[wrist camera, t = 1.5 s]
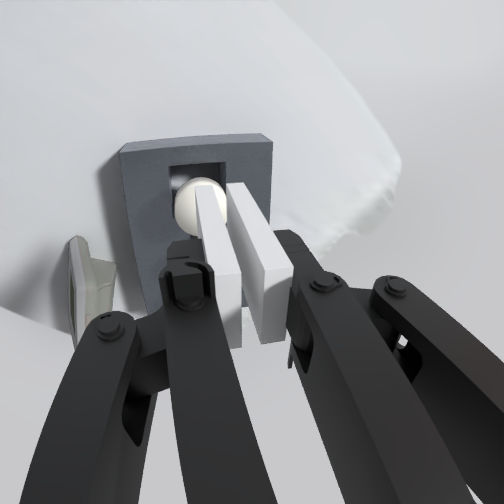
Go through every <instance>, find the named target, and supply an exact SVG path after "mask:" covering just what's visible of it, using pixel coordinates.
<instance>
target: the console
mask: <svg viewBox="0 0 504 504" xmlns="http://www.w3.org/2000/svg"><path fill="white" fill-rule="evenodd" d="M272 151H273V142H272V141H271V140H270V139H268V138H267V137H265V136H264V135H263V134H228V135H208V136H193V137H180V138H169V139H158V140H149V141H140V142H132V143H126V144H125V146H124V147H123V148H122V150H121V151H120V152H119V157H120V166H121V174H122V182H123V189H124V196H125V203H126V209H127V215H128V221H129V227H130V233H131V238H132V244H133V249H134V254H135V259H136V264H137V269H138V274H139V278H140V283H141V287H142V292H143V296H144V300H145V304H146V308H147V312H148V315H150V314H153V313H154V312H156V311H157V310H158V309H159V308H160V307H161V306H162V305H163V301H162V296H161V290H160V285H159V280H158V277H159V274H160V271H161V270H162V269H163V268H164V267H165V266H167V249H168V247H169V246H170V244H171V243H172V242H173V241H180V240H190V239H191V237H192V235H191V234H188V233H187V232H185V231H184V230H182V229H181V227H180V226H179V225H178V223H177V221H176V218H175V201H174V202H173V196H172V185H171V172H170V166H174V165H185V164H198V163H212V162H220V186H221V187H222V189H223V190H224V193H225V195H226V184H227V183H243V182H244V184H245V186H246V187H247V189H248V191H249V192H250V194H251V196H252V197H253V199H254V201H255V202H256V204H257V206H258V207H259V209H260V211H261V212H262V214H263V216H264V217H265V219H266V221H267V222H268V224H269V221H270V199H271V176H272ZM225 225H226V228H227V222H226V223H225ZM241 307H249V306H248V303H247V300H246V297H245V294H244V291H243V288H242V285H241Z"/></svg>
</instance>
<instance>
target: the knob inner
mask: <svg viewBox="0 0 504 504" xmlns="http://www.w3.org/2000/svg"><path fill="white" fill-rule="evenodd" d="M200 185H213V188H214V191H215V194H216V198H217V201H218V204H219V207H220V210H221V213H222V216H223V219H224V222H225V223H226V222H227V208H226V195H225V193H224V190H223V189H222V187H221V186H220V185H219V184H218V183H217V182H216V181H214V180H212V179H209V178H204V177H196V178H193V179H191V180H188V181H187V182H185V183H184V184H183V185H182V186H181V187H180V188H179V190H178V191H177V193H176V197H175V218H176V221H177V223H178V225H179V226H180V227H181V229H182V230H184V231H185V232H187V233H188V234H191V235H194V236H198V233H197V218H196V203H195V186H200Z"/></svg>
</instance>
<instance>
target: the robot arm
mask: <svg viewBox="0 0 504 504" xmlns="http://www.w3.org/2000/svg"><path fill="white" fill-rule="evenodd" d="M195 203H196V218H197V233H198V239H190V240H180V241H173V242H172V243H171V244H170V246H169V247H168V249H167V266H165V267H164V268H163V269H162V270H161V271H160V274H159V277H158V280H159V285H160V290H161V296H162V301H163V305H162V306H161V307H160V308H159V309H158V310H157V311H156V312H154V313H153V314H150V315H148V316H146V317H143V318H140V319H137V320H134V318H133V317H132V316H130V315H129V314H127V313H125V312H120V311H111V312H106V313H103V314H100V315H98V316H97V317H96V318H94V319H93V320H91V322H90V323H89V324H88V326H87V327H86V329H85V331H84V333H83V335H82V337H81V339H80V341H79V343H78V345H77V348H76V350H75V352H74V354H73V356H72V358H71V361H70V363H69V365H68V367H67V370H66V372H65V374H64V376H63V379H62V381H61V383H60V386H59V388H58V391H57V393H56V395H55V398H54V400H53V403H52V405H51V408H50V410H49V413H48V416H47V418H46V421H45V424H44V426H43V429H42V432H41V435H40V438H39V441H38V443H37V446H36V449H35V452H34V455H33V458H32V461H31V464H30V468H29V471H28V474H27V478H26V481H25V485H24V488H23V492H22V495H21V499H20V503H19V504H138V501H139V494H140V488H141V481H142V475H143V469H144V463H145V457H146V452H147V446H148V441H149V436H150V430H151V425H152V420H153V415H154V410H155V405H156V400H157V395H158V392H160V391H163V390H165V389H168V388H170V393H171V402H172V410H173V418H174V426H175V433H176V439H177V446H178V453H179V459H180V465H181V470H182V476H183V482H184V487H185V492H186V497H187V502H188V504H278V503H277V500H276V497H275V494H274V491H273V488H272V485H271V483H270V480H269V477H268V474H267V471H266V468H265V465H264V462H263V459H262V455H261V452H260V449H259V446H258V443H257V440H256V437H255V434H254V430H253V427H252V424H251V421H250V417H249V414H248V411H247V407H246V405H245V401H244V398H243V394H242V391H241V387H240V384H239V380H238V377H237V373H236V370H235V367H234V363H233V359H232V356H231V353H230V349H233V348H240V347H242V336H241V335H242V316H241V285H242V288H243V291H244V294H245V297H246V300H247V303H248V306H249V309H250V312H251V316H252V319H253V322H254V325H255V328H256V331H257V334H258V337H259V340H260V343H261V344H267V343H273V342H279V341H284V340H285V336H286V329H287V330H288V332H289V334H290V336H291V345H290V351H289V357H288V368H292V362H293V361H294V364H295V366H296V369H297V372H298V374H299V377H300V380H301V383H302V386H303V388H304V391H305V394H306V397H307V399H308V402H309V405H310V408H311V410H312V413H313V416H314V418H315V421H316V424H317V427H318V430H319V433H320V435H321V438H322V441H323V444H324V446H325V449H326V452H327V455H328V457H329V460H330V463H331V466H332V468H333V471H334V474H335V477H336V479H337V482H338V485H339V488H340V490H341V493H342V496H343V499H344V501H345V504H476V502H475V501H474V499H473V497H472V495H471V493H470V491H469V489H468V487H467V485H468V486H469V487H470V489H471V490H472V491H473V492H474V493H475V494H476V496H478V498H479V499H480V500H481V501H482V502H483V504H504V363H503V362H502V361H501V360H500V359H499V358H498V357H497V356H496V355H494V353H492V352H491V351H490V350H489V349H488V348H487V347H486V346H485V345H484V344H482V343H481V342H480V341H479V340H478V339H477V338H476V337H474V336H473V335H472V334H471V333H470V332H469V331H467V330H466V329H465V328H464V327H463V326H462V325H461V324H460V323H459V322H457V321H456V320H455V319H454V318H452V317H451V316H450V315H449V314H448V313H447V312H446V311H444V310H443V309H442V308H441V307H439V306H438V305H437V304H436V303H434V302H433V301H432V300H431V299H430V298H429V297H427V296H426V295H425V294H424V293H422V292H421V291H420V290H419V289H417V288H416V287H415V286H414V285H412V284H411V283H410V282H408V281H406V280H405V279H403V278H400V277H397V276H388V275H387V276H382V277H380V278H378V279H376V281H375V283H374V286H373V289H360V288H350V287H348V285H347V283H346V282H345V281H344V280H343V279H342V278H341V277H340V276H338V275H336V274H334V273H331V272H327V271H324V270H323V269H322V267H321V266H320V264H319V263H318V261H317V260H316V259H315V257H314V256H313V254H312V253H311V252H310V251H309V249H308V247H307V246H306V245H305V243H304V242H303V240H302V239H301V237H300V236H299V235H297V234H296V233H294V232H292V231H291V230H277V231H272V229H271V227H270V226H269V224H268V222H267V221H266V219H265V217H264V216H263V214H262V212H261V211H260V209H259V207H258V206H257V204H256V202H255V201H254V199H253V197H252V196H251V194H250V192H249V191H248V189H247V187H246V186H245V184H244V182H243V183H227V184H226V208H227V228H226V225H225V222H224V219H223V216H222V213H221V210H220V207H219V204H218V201H217V198H216V194H215V191H214V188H213V185H200V186H195ZM401 335H403V336H404V337H405V338H406V339H407V340H408V342H407V344H406V346H402V345H401V344H399V343H398V341H399V339H400V337H401ZM466 484H467V485H466Z"/></svg>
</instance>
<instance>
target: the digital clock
mask: <svg viewBox="0 0 504 504" xmlns="http://www.w3.org/2000/svg"><path fill="white" fill-rule="evenodd" d="M116 269H117V263H114V262H109V261H104V260H99V259H94V258H91V257H90V253H89V248H88V244H87V241H86V240H85V239H84V238H82V237H81V236H75V237H74V238H73V239H72V240H71V241H70V242H69V263H68V310H69V323H70V329H71V334H72V339H73V344H74V349H75V350H76V348H77V345H78V343H79V341H80V339H81V337H82V335H83V333H84V331H85V329H86V327H87V326H88V324H89V323H90V322H91V320H93V319H94V318H96V317H97V316H98V315H100V314H103V313H106V312H111V311H112V305H113V294H114V285H115V277H116Z"/></svg>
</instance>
